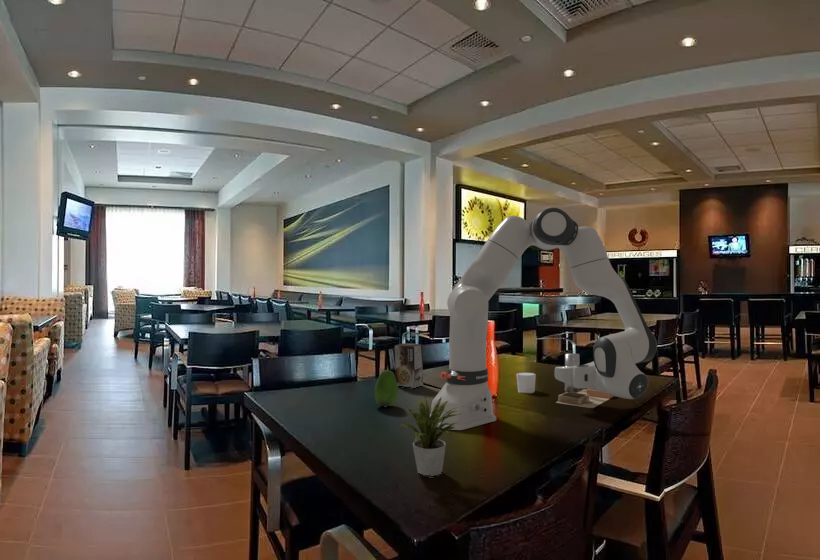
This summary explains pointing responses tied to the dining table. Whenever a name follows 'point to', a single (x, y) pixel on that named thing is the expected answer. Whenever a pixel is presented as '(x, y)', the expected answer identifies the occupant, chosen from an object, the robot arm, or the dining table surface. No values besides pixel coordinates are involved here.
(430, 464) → the house plant
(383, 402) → the avocado
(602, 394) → the marked socket
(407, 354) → the coffee box
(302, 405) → the dining table surface
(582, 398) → the rail board
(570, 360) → the peg
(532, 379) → the white cup
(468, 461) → the dining table surface
